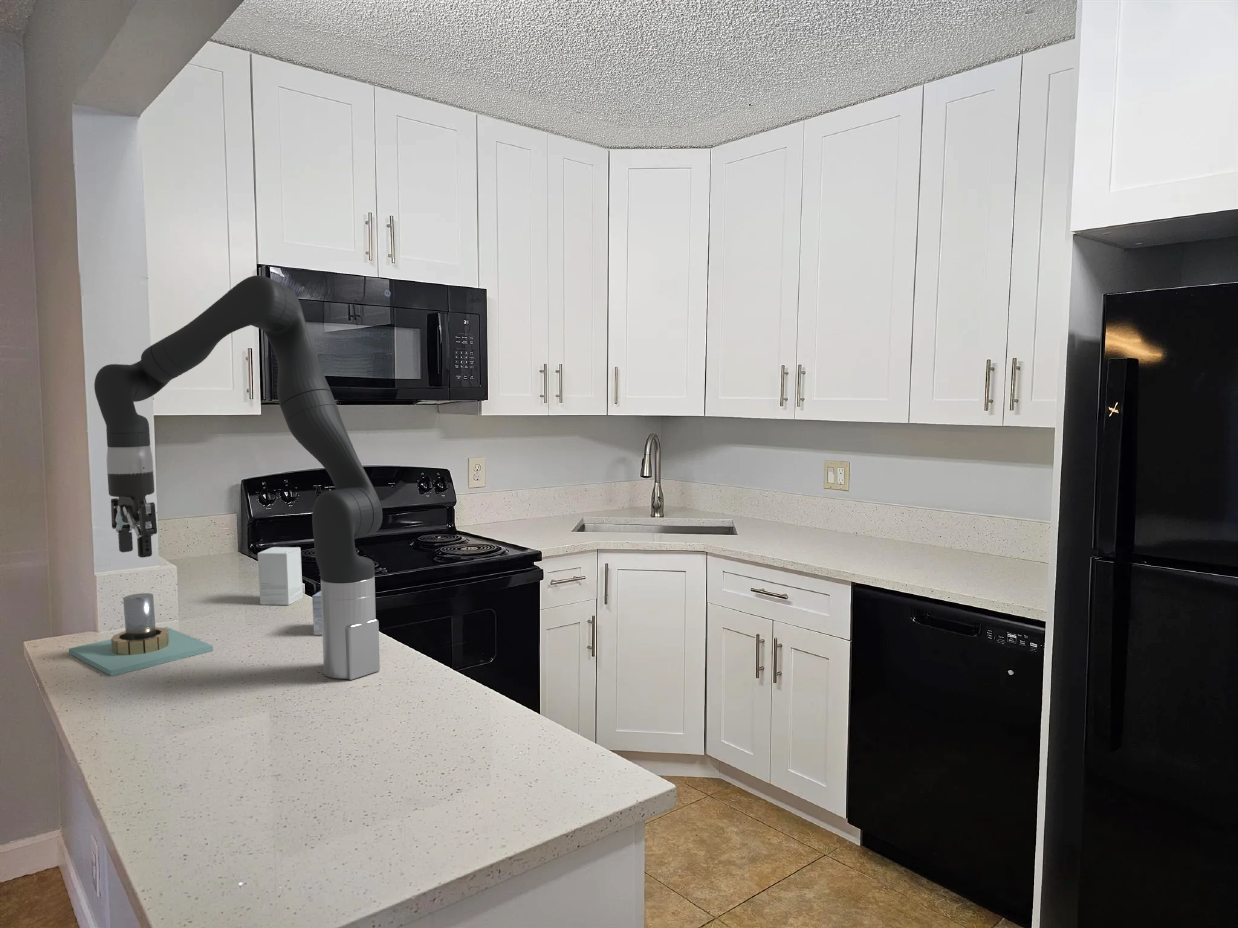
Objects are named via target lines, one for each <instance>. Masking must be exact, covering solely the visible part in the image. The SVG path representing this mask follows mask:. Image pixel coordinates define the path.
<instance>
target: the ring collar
mask: <svg viewBox="0 0 1238 928" xmlns="http://www.w3.org/2000/svg"><path fill="white" fill-rule="evenodd" d="M155 628H156V636H154V637H150V638H146V639H139V640H126V630H125V631H121V632H119V633H116V634H114V635H113V636H112V637H111V644H112V652H113V653H115V654H118V655H136V654H144V653H149V652H153V651H158V650H160V649H163V648H165V647H167V646H168V644H169V630H167V629H165V627H159V626H158V627H157V626H155Z"/></svg>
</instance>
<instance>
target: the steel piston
mask: <svg viewBox="0 0 1238 928" xmlns="http://www.w3.org/2000/svg"><path fill="white" fill-rule="evenodd" d="M122 601H123V612H124V613H123V615H124V617H123V618H124V628H125V631H126V640H139V639H146V638H150V637H154V636H156V628H155V627H156V614H155V603H154V594H153V593H150V592H149V593H148V592H144V593H143V592H142V593H134V594H129V595H127V596H126V595H125V596H124V597H123V598H122Z"/></svg>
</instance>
